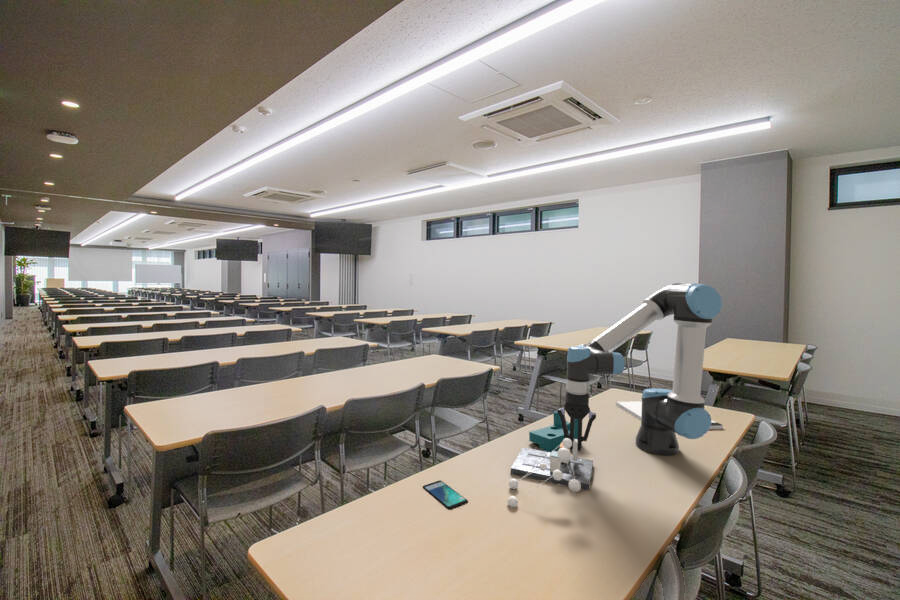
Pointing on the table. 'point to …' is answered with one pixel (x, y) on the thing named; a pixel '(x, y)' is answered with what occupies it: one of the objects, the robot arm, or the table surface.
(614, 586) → the table surface
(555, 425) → the teal l-shaped bracket
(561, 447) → the fader
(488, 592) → the table surface
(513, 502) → the molecule model
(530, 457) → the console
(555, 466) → the block
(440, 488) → the smartphone
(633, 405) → the flat white panel
